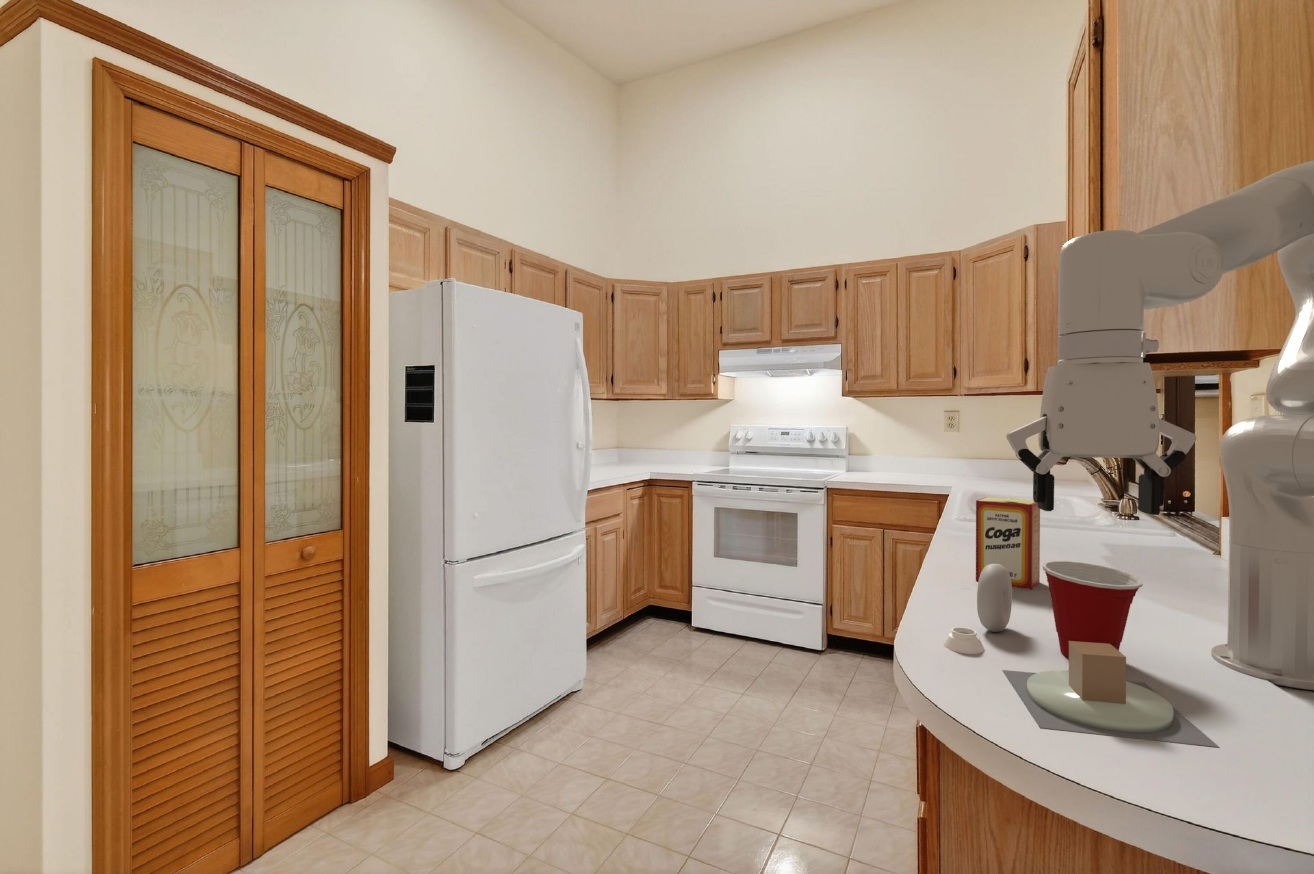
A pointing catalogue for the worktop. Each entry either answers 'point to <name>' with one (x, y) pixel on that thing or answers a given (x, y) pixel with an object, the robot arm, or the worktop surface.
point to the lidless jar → (964, 641)
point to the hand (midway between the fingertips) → (1096, 511)
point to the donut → (994, 597)
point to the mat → (1176, 733)
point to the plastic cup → (1089, 602)
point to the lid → (1099, 692)
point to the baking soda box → (1009, 538)
